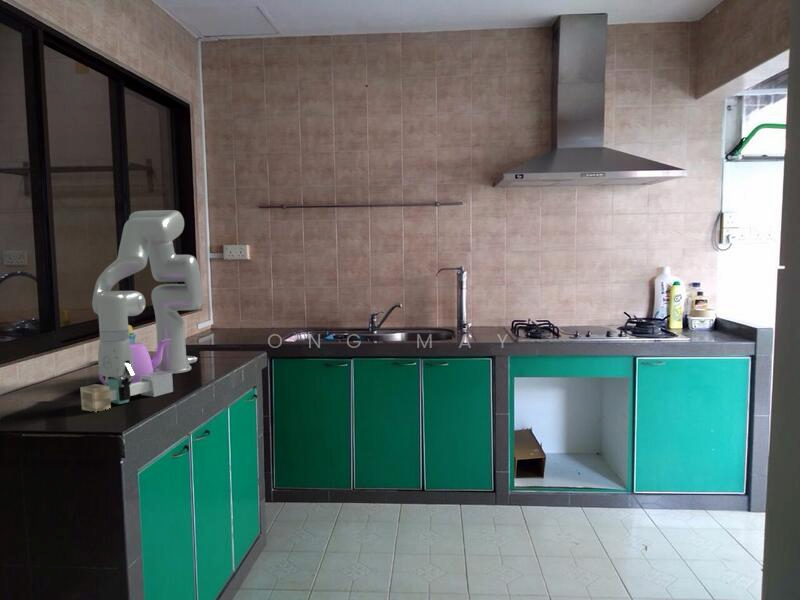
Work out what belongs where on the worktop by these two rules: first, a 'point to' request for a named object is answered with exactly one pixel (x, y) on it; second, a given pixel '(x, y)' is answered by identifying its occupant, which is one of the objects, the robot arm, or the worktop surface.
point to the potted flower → (131, 334)
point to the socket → (95, 397)
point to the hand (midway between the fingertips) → (118, 398)
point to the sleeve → (158, 383)
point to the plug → (134, 389)
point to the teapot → (143, 360)
